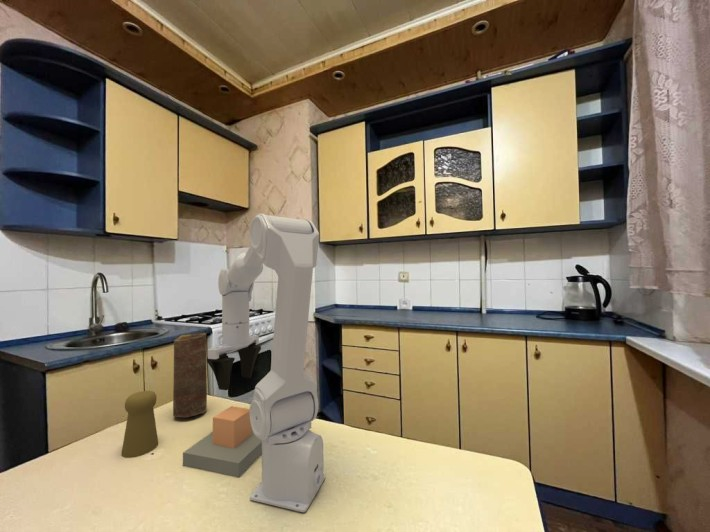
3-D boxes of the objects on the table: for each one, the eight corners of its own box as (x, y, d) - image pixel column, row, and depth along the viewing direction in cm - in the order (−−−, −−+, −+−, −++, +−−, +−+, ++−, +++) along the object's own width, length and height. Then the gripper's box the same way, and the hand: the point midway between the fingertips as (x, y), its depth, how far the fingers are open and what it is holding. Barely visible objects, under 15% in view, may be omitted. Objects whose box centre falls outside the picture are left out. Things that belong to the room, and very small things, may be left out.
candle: (196, 422, 68) (196, 337, 69) (165, 422, 69) (166, 337, 69) (212, 408, 76) (212, 331, 77) (184, 408, 76) (185, 331, 77)
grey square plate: (276, 442, 61) (276, 427, 61) (238, 481, 49) (238, 463, 49) (228, 434, 64) (228, 420, 64) (182, 469, 53) (182, 452, 53)
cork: (138, 459, 55) (139, 400, 55) (112, 455, 56) (113, 398, 56) (165, 441, 61) (166, 388, 61) (141, 438, 62) (142, 386, 62)
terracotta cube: (251, 434, 58) (251, 409, 59) (233, 448, 54) (233, 421, 54) (231, 430, 60) (231, 406, 60) (212, 443, 55) (212, 417, 56)
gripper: (241, 317, 74) (241, 371, 73) (196, 327, 60) (195, 393, 59) (266, 318, 72) (266, 373, 71) (224, 328, 58) (224, 397, 57)
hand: (235, 382), depth 65 cm, fingers open, 7 cm apart
